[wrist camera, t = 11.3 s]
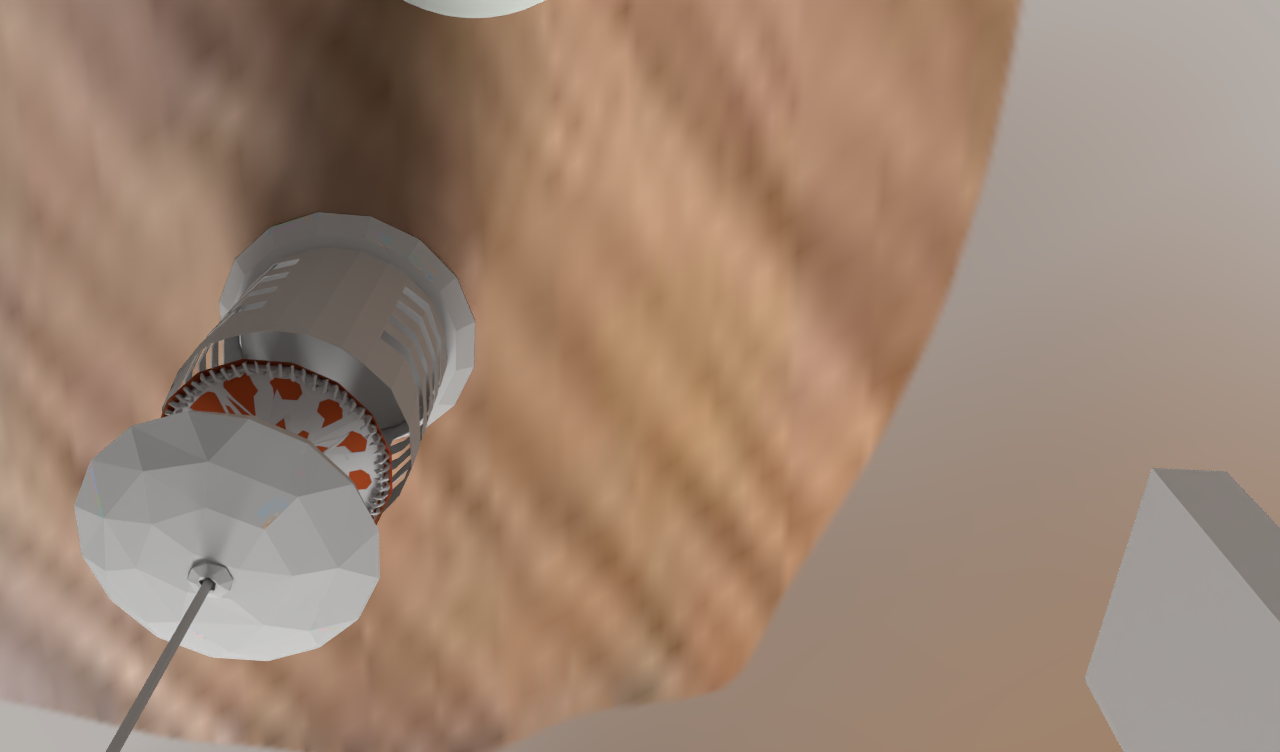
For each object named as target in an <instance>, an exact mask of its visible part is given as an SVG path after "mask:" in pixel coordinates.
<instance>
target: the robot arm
mask: <svg viewBox="0 0 1280 752" xmlns="http://www.w3.org/2000/svg"><path fill="white" fill-rule="evenodd" d="M1085 681H1086V683H1087V685H1088V687H1089V689H1090V690H1091V692H1092V694H1093V696H1094V698H1095V700H1096V702H1097V703H1098V705H1099V707H1100V709H1101V711H1102V713H1103V714H1104V716H1105V718H1106V720H1107V722H1108V724H1109V725H1110V727H1111V729H1112V731H1113V733H1114V735H1115V736H1116V738H1117V740H1118V742H1119V744H1120V746H1121V748H1122V749H1123V752H1280V528H1279V527H1278V525H1277V524H1275V522H1274V521H1273V520H1272V519H1271V518H1270V517H1269V516H1268V515H1267V514H1266V513H1265V512H1264V511H1263V510H1262V508H1261V507H1259V505H1258V504H1257V503H1256V502H1255V501H1254V500H1253V499H1252V498H1251V497H1250V496H1249V495H1248V494H1247V493H1246V492H1245V490H1244V489H1243V488H1242V487H1241V486H1240V485H1239V484H1238V483H1237V482H1236V481H1235V480H1234V479H1233V478H1232V477H1231V476H1230V474H1229V473H1228V472H1223V471H1203V470H1182V469H1161V468H1152V469H1151V472H1150V475H1149V479H1148V482H1147V485H1146V488H1145V491H1144V494H1143V497H1142V501H1141V504H1140V507H1139V510H1138V513H1137V516H1136V519H1135V523H1134V526H1133V529H1132V532H1131V535H1130V538H1129V541H1128V545H1127V548H1126V551H1125V554H1124V557H1123V560H1122V564H1121V567H1120V570H1119V573H1118V576H1117V579H1116V582H1115V586H1114V588H1113V592H1112V595H1111V598H1110V601H1109V604H1108V607H1107V611H1106V614H1105V617H1104V620H1103V623H1102V626H1101V630H1100V632H1099V636H1098V639H1097V642H1096V645H1095V648H1094V651H1093V654H1092V658H1091V661H1090V664H1089V667H1088V670H1087V673H1086V677H1085Z"/></svg>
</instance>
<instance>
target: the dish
mask: <svg viewBox="0 0 1280 752" xmlns="http://www.w3.org/2000/svg"><path fill="white" fill-rule="evenodd" d="M403 1H405V2H407V3H410V4H412V5H414V6H417V7H419V8H422V9H424V10H427V11H431V12H435V13H438V14H442V15H446V16H454V17H462V18H489V17H496V16H503V15H508V14H511V13H515V12H518V11H522V10H525V9H527V8H530V7H532V6H534V5H536V4H538V3H541V2H543V1H545V0H403Z"/></svg>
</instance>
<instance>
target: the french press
mask: <svg viewBox="0 0 1280 752" xmlns="http://www.w3.org/2000/svg"><path fill="white" fill-rule="evenodd" d="M219 306H220V317H221V320H220V322H219V324H218V325H217V326H216V327H215V328H214V329H213V330H212V331H211V332H210V333H209V334H208V336H207V338H206V339H205V340H204V341H203V342H202V343H201V344H200V345H199V346H198V347H197V349H196V350H195V351H194V352H193V354H192V355H191V356H190V357H189V359H188V360H187V361H186V362H185V363H184V365H183V366H182V367H181V368H180V370H179V371H178V373H177V376H176V378H175V380H174V382H173V385H172V387H171V389H170V391H169V394H168V396H167V398H166V400H165V403H164V405H163V407H162V416H161V418H159V419H156V420H152V421H148V422H145V423H141V424H138V425H134V426H131V427H129V428H128V429H127V430H126V431H125V432H124V433H122V434H121V435H120V436H119V437H118V438H117V439H115V440H114V441H113V442H112V443H111V444H110V445H108V446H107V447H106V448H105V449H104V450H102V451H101V452H100V453H99V454H98V455H97V456H95V457H94V458H93V459H92V460H91V462H90V464H89V467H88V470H87V472H86V475H85V478H84V481H83V483H82V486H81V489H80V491H79V494H78V497H77V500H76V502H75V505H74V508H75V514H76V521H77V527H78V534H79V541H80V547H81V554H82V556H83V558H84V559H85V561H86V562H87V564H88V566H89V567H90V569H91V570H92V572H93V573H94V575H95V576H96V578H97V580H98V581H99V583H100V584H101V586H102V587H103V589H104V590H105V592H106V594H107V595H108V597H109V598H110V600H111V601H113V602H114V603H115V604H116V605H118V606H119V607H120V608H121V609H123V610H124V611H125V612H126V613H128V614H129V615H130V616H131V617H133V618H134V619H135V620H136V621H138V622H139V623H140V624H141V625H143V626H144V627H145V628H147V629H148V630H149V631H150V632H152V633H153V634H154V635H155V636H157V637H158V638H161V639H164V640H166V641H169V643H168V644H167V646H166V648H165V650H164V651H163V653H162V655H161V657H160V658H159V660H158V662H157V664H156V665H155V667H154V669H153V670H152V672H151V674H150V676H149V677H148V679H147V681H146V683H145V684H144V686H143V688H142V690H141V691H140V693H139V695H138V697H137V698H136V700H135V702H134V704H133V705H132V707H131V709H130V711H129V712H128V714H127V716H126V717H125V719H124V721H123V723H122V724H121V726H120V728H119V730H118V731H117V733H116V735H115V737H114V738H113V740H112V742H111V744H110V745H109V747H108V749H107V751H106V752H120V750H121V748H122V747H123V745H124V743H125V741H126V740H127V738H128V736H129V734H130V732H131V731H132V729H133V727H134V725H135V723H136V722H137V720H138V718H139V716H140V714H141V713H142V711H143V709H144V707H145V706H146V704H147V702H148V700H149V698H150V697H151V695H152V693H153V691H154V689H155V688H156V686H157V684H158V682H159V680H160V679H161V677H162V675H163V673H164V672H165V670H166V668H167V666H168V664H169V663H170V661H171V659H172V657H173V655H174V654H175V652H176V650H177V648H178V646H179V645H180V646H182V647H185V648H188V649H191V650H193V651H196V652H199V653H201V654H204V655H207V656H210V657H214V658H229V659H244V660H259V661H270V660H274V659H278V658H281V657H285V656H289V655H293V654H297V653H301V652H304V651H308V650H312V649H316V648H319V647H321V646H322V645H324V644H325V643H326V642H328V641H329V640H330V639H332V638H333V637H335V636H336V635H337V634H339V633H340V632H341V631H343V630H344V629H346V628H347V627H348V626H350V625H351V624H352V623H354V622H355V621H357V620H358V619H359V617H360V615H361V613H362V611H363V609H364V607H365V605H366V603H367V602H368V600H369V598H370V596H371V594H372V592H373V590H374V588H375V586H376V584H377V582H378V580H379V578H380V577H379V530H378V528H377V526H376V525H377V523H378V521H379V519H380V517H381V515H382V513H383V512H384V511H385V510H386V509H387V508H388V507H389V505H390V504H391V503H392V502H393V501H394V500H395V499H396V498H397V497H398V496H399V495H400V492H401V490H402V488H403V486H404V484H405V481H406V479H407V477H408V475H409V473H410V470H411V468H412V466H413V463H414V460H415V457H416V455H417V452H418V449H419V447H420V441H421V439H422V437H423V434H424V431H425V429H426V427H428V426H429V425H430V424H431V423H433V422H434V421H435V420H436V419H438V418H439V417H440V416H441V415H443V414H444V413H445V412H447V411H448V410H449V409H450V408H452V407H453V406H454V405H455V403H456V401H457V399H458V397H459V395H460V393H461V391H462V389H463V387H464V386H465V384H466V382H467V380H468V378H469V376H470V374H471V372H472V370H473V368H474V349H475V320H474V318H473V315H472V313H471V311H470V308H469V306H468V303H467V301H466V299H465V296H464V294H463V291H462V289H461V286H460V284H459V282H458V279H457V277H456V276H455V275H454V274H453V273H452V272H451V271H450V270H449V269H448V268H447V267H446V266H445V265H444V264H443V263H442V262H441V261H440V260H439V258H438V257H437V256H436V255H435V254H434V253H433V252H432V251H431V250H430V249H429V248H428V247H427V246H426V245H425V244H424V243H423V242H422V241H421V240H420V239H418V238H416V237H413V236H411V235H409V234H407V233H405V232H403V231H401V230H399V229H397V228H394V227H392V226H390V225H388V224H386V223H384V222H382V221H380V220H377V219H375V218H373V217H371V216H359V215H347V214H335V213H323V212H317V213H314V214H310V215H307V216H304V217H301V218H298V219H295V220H291V221H288V222H285V223H282V224H279V225H275V226H272V227H270V228H269V229H267V230H266V231H265V232H264V233H263V234H262V235H261V236H260V237H259V238H258V239H257V240H255V241H254V242H253V243H252V244H251V245H250V246H249V247H248V248H247V249H246V250H245V251H243V252H242V253H241V254H240V255H239V256H238V257H237V258H236V259H235V261H234V264H233V266H232V269H231V271H230V274H229V277H228V279H227V282H226V285H225V287H224V290H223V293H222V295H221V298H220V301H219ZM215 329H216V330H215ZM220 340H223V365H220V366H218V341H220ZM213 342H214V343H213ZM211 343H213V345H212V347H211V369H207V370H206V353H207V351H208V349H209V347H210V345H211ZM206 346H207V347H206ZM205 347H206V349H205V351H204V353H203V355H202V357H201V358H200V360H199V362H198V373H197V374H196V375H195V376H194V377H192V371H193V369H194V366H195V364H196V362H197V360H198V358H199V356H200V354H201V352H202V350H203V349H204V348H205ZM197 354H198V355H197ZM196 355H197V357H196V358H195V356H196ZM194 358H195V360H194ZM193 360H194V362H193ZM192 362H193V364H192V366H191V368H190V370H189V372H188V374H187V375H186V373H187V371H188V369H189V367H190V365H191V363H192ZM185 375H186V377H185ZM184 377H185V379H184ZM183 379H184V385H183V386H182V387H181V388H180V389H179V390H178V388H179V387H180V385H181V383H182V381H183ZM420 433H421V434H420ZM409 435H410V436H409ZM405 436H409V437H408V438H407V439H406V440H405V441H403V442H400V443H398V444H395V445H393V446H391V443H392V440H395V439H398V438H402V437H405ZM409 443H410V448H409V449H408V450H407V451H406V452H405V453H404V454H403V455H401V456H400V457H399V458H398V459H395V460H393V461H392V454H394V453H397V452H399V451H401V450H403V449H404V448H405V447H406V446H407V445H408V444H409ZM410 454H411V459H410V460H409V461H408V462H407V463H406V464H405V465H404V466H403V467H402V468H401V469H400V470H399V471H398V472H397V473H396V474H395V475H394V476H393V477H392V470H393V469H395V468H396V467H397V466H398V465H399V464H400V463H402V462H403V461H404V460H405V459H406V458H407V457H408V456H409V455H410ZM409 466H410V467H409ZM407 470H408V471H407ZM406 471H407V474H406V476H405V479H404V480H403V481H401V482H400V483H399V484H398V485H397V486H396V487H395V488H394V489H393V490H392V484H393V483H394V482H395V481H396V480H397V479H398V478H399V477H401V476H402V475H403V474H404V473H405V472H406Z"/></svg>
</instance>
